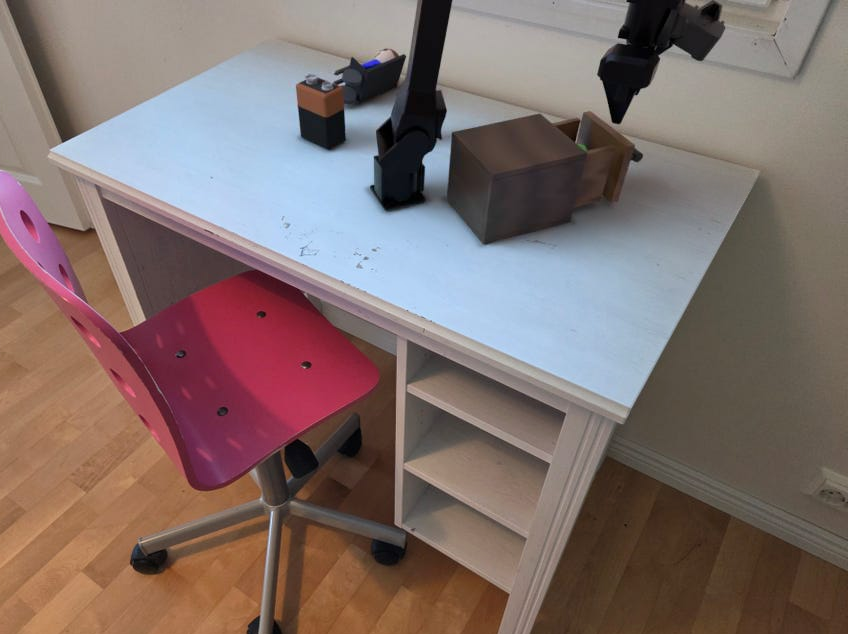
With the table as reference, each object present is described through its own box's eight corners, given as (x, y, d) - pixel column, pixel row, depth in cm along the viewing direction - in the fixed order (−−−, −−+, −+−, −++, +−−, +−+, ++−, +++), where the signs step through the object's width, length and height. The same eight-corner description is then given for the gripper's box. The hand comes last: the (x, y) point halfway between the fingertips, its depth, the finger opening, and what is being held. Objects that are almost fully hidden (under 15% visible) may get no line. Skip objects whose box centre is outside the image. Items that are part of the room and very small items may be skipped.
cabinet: (527, 180, 98) (540, 113, 91) (570, 222, 91) (587, 152, 83) (446, 199, 95) (451, 131, 87) (483, 244, 88) (492, 175, 80)
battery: (318, 128, 111) (313, 68, 103) (347, 141, 107) (344, 80, 100) (299, 138, 108) (293, 78, 101) (328, 151, 105) (324, 90, 98)
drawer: (600, 160, 100) (615, 105, 94) (642, 195, 93) (661, 138, 87) (504, 183, 96) (512, 127, 90) (541, 221, 90) (553, 164, 83)
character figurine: (327, 104, 117) (388, 79, 124) (353, 115, 113) (415, 88, 120) (322, 58, 112) (386, 35, 118) (349, 68, 108) (414, 43, 114)
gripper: (719, 19, 68) (672, 154, 80) (746, -34, 79) (700, 92, 91) (613, 2, 72) (582, 134, 84) (652, -46, 83) (620, 76, 94)
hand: (625, 108), depth 88 cm, fingers open, 9 cm apart
